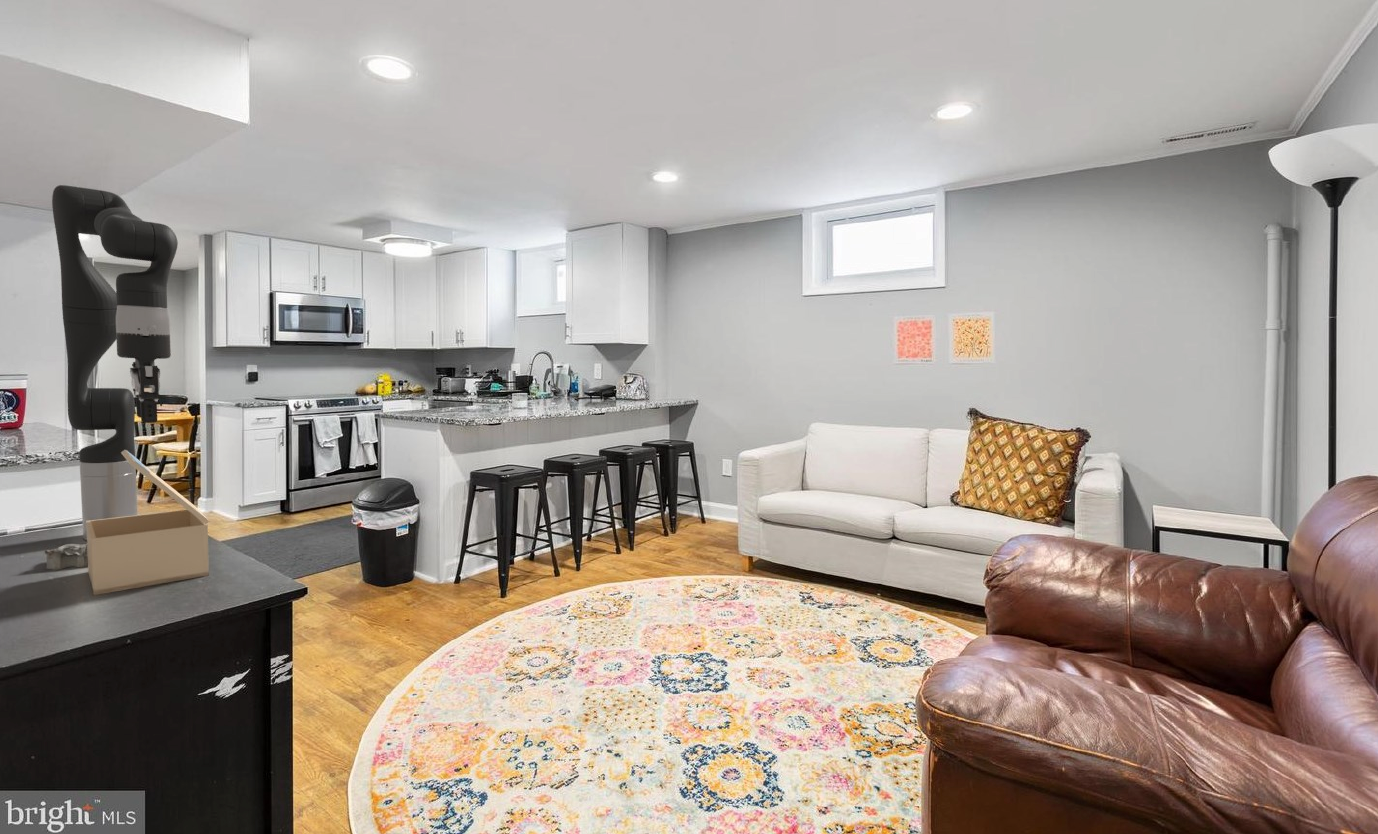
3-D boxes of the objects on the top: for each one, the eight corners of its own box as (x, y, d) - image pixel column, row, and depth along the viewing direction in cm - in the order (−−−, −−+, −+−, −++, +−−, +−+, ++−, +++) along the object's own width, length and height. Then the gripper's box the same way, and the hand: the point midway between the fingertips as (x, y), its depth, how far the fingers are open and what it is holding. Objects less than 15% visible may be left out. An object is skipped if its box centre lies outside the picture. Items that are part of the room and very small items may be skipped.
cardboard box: (88, 571, 121) (86, 520, 120) (194, 555, 132) (192, 509, 131) (93, 595, 110) (91, 539, 109) (209, 575, 121) (207, 524, 120)
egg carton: (41, 572, 120) (39, 551, 120) (57, 561, 127) (55, 540, 127) (115, 565, 125) (114, 545, 125) (126, 554, 132) (125, 535, 132)
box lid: (120, 452, 123) (125, 449, 123) (190, 508, 131) (194, 505, 132) (129, 464, 111) (134, 460, 112) (205, 524, 120) (210, 520, 120)
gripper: (113, 330, 119) (117, 416, 121) (119, 331, 109) (123, 425, 111) (165, 332, 125) (168, 415, 126) (174, 333, 115) (178, 423, 116)
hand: (147, 419), depth 119 cm, fingers open, 8 cm apart
